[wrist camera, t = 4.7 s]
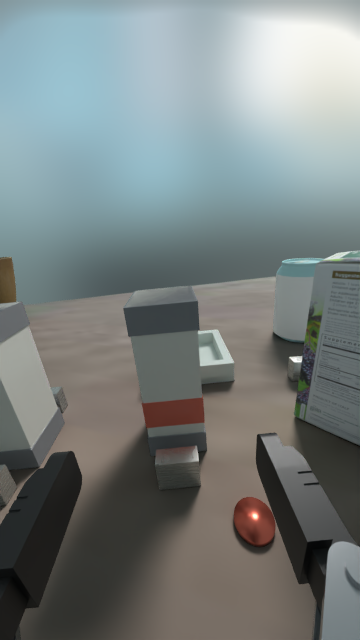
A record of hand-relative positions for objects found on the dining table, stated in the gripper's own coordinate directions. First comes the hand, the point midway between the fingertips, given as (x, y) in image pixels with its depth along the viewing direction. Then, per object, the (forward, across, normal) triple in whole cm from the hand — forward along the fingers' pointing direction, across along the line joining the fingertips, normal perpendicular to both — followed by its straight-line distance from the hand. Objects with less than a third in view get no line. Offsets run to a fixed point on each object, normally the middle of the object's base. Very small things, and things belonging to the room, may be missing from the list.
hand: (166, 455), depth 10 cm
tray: (+20, -2, +8) cm, 22 cm away
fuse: (+9, +14, +8) cm, 18 cm away
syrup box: (+9, -15, +8) cm, 19 cm away
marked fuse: (+9, 0, +8) cm, 12 cm away
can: (+26, -20, +8) cm, 34 cm away
